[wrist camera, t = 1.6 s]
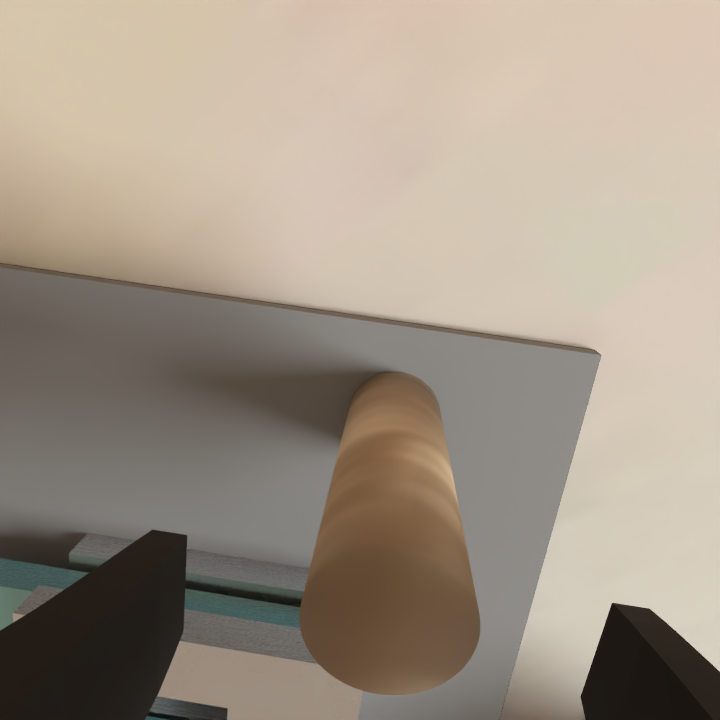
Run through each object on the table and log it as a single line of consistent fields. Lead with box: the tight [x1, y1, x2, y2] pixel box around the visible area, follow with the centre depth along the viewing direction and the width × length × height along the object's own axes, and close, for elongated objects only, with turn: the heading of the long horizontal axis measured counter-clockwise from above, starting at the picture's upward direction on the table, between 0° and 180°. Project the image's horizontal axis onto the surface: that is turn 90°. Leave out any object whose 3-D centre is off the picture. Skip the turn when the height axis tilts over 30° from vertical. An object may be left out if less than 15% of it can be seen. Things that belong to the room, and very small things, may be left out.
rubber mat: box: [0, 263, 601, 720], centre depth 20 cm, size 22×20×1 cm
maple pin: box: [299, 372, 480, 695], centre depth 13 cm, size 3×3×9 cm
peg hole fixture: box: [0, 533, 363, 720], centre depth 19 cm, size 15×9×4 cm, turn 82°
